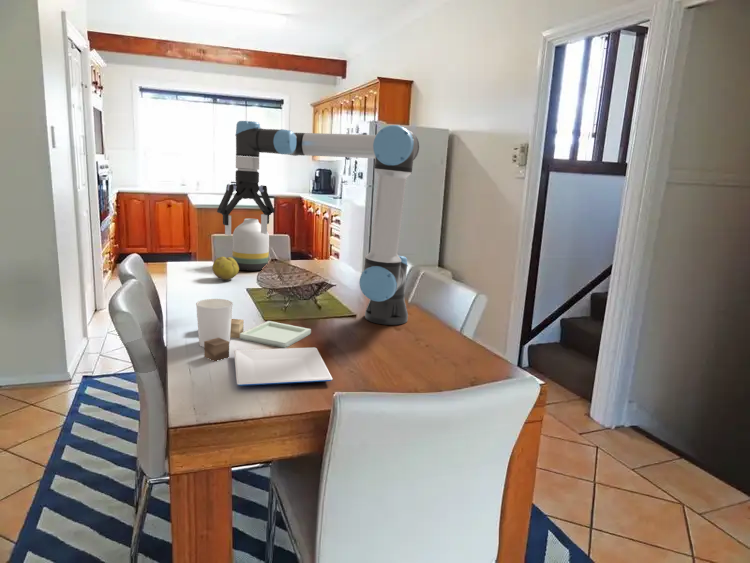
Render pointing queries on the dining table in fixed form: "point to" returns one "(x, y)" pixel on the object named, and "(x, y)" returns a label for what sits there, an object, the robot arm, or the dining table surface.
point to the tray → (275, 334)
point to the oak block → (236, 328)
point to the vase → (250, 246)
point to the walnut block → (216, 349)
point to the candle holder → (214, 319)
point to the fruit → (225, 268)
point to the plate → (279, 366)
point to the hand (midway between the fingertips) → (246, 234)
